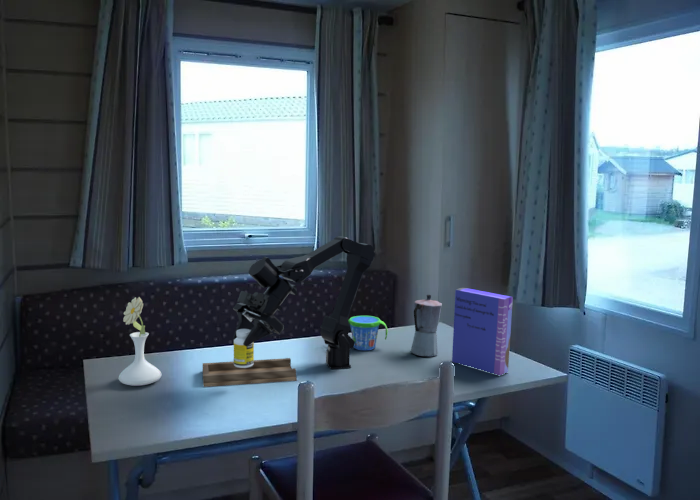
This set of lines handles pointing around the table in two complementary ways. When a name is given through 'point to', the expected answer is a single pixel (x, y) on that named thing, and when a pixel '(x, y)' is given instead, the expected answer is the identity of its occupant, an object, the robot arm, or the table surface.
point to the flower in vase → (138, 350)
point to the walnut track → (248, 372)
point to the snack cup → (365, 331)
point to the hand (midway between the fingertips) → (239, 342)
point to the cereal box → (482, 330)
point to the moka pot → (426, 327)
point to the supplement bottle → (243, 350)
